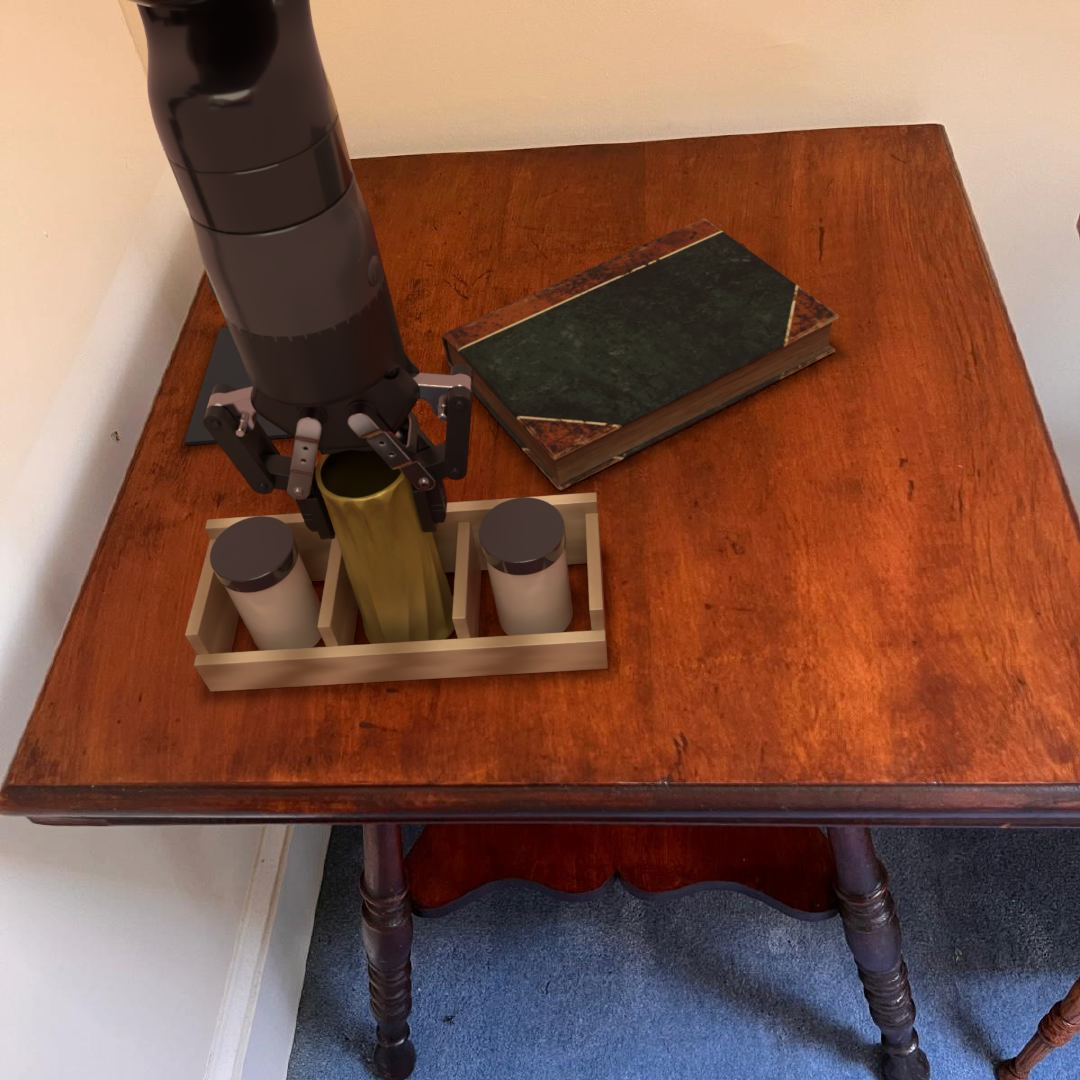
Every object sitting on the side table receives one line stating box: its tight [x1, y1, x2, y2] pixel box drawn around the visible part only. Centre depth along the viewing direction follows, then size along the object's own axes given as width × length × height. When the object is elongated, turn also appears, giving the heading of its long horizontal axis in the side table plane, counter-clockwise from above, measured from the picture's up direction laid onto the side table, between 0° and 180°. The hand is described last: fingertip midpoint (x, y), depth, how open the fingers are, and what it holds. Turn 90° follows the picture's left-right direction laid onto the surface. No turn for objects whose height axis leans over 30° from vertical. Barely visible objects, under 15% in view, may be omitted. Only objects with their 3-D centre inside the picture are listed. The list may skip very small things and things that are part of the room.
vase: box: [315, 450, 455, 644], centre depth 61 cm, size 6×6×14 cm
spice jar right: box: [479, 496, 574, 636], centre depth 63 cm, size 5×5×8 cm
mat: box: [184, 326, 294, 446], centre depth 83 cm, size 14×14×1 cm
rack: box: [184, 491, 609, 692], centre depth 64 cm, size 25×9×6 cm, turn 90°
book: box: [441, 217, 840, 492], centre depth 80 cm, size 17×4×25 cm
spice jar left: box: [210, 515, 323, 651], centre depth 64 cm, size 5×5×8 cm
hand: (380, 523), depth 59 cm, fingers closed on vase, 5 cm apart
